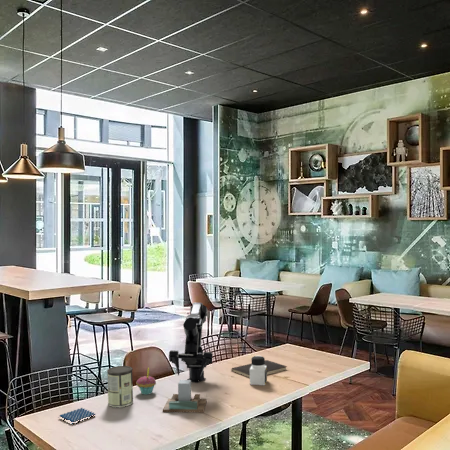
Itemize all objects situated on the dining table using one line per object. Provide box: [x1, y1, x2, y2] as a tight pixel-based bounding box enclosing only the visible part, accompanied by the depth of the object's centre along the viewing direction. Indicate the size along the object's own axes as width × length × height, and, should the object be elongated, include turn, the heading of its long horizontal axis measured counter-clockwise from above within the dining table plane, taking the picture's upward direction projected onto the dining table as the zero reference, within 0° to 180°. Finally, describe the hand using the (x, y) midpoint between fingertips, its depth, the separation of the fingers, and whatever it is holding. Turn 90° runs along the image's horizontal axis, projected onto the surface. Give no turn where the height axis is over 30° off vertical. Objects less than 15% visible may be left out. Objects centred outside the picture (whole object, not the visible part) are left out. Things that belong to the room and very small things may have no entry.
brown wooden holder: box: [162, 393, 208, 413], centre depth 194 cm, size 12×16×4 cm
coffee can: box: [106, 365, 134, 408], centre depth 200 cm, size 10×10×14 cm
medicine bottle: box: [249, 355, 268, 386], centre depth 223 cm, size 7×7×12 cm
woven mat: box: [59, 407, 96, 422], centre depth 185 cm, size 10×11×2 cm
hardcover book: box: [230, 359, 288, 379], centre depth 242 cm, size 16×23×2 cm
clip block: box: [177, 379, 192, 401], centre depth 194 cm, size 4×4×9 cm
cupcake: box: [135, 366, 157, 395], centre depth 212 cm, size 9×8×12 cm
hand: (189, 375), depth 204 cm, fingers open, 9 cm apart
